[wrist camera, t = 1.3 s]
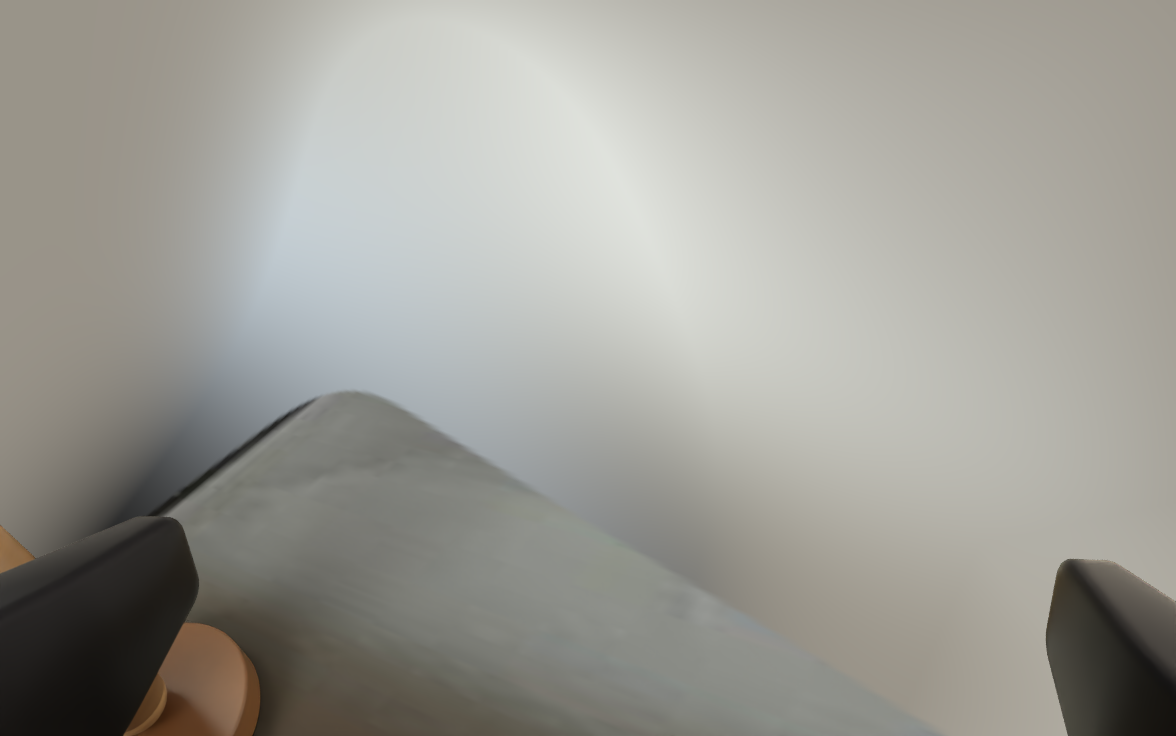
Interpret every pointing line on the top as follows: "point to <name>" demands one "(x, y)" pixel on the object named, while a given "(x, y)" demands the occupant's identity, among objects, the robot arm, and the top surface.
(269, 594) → the top surface
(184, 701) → the wooden peg stand
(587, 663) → the top surface
